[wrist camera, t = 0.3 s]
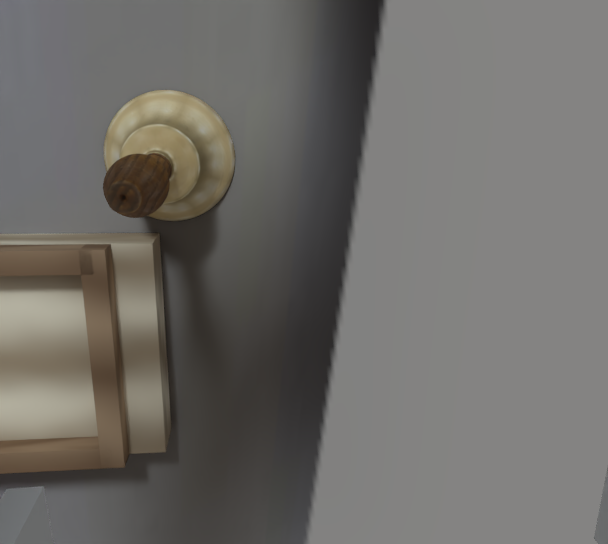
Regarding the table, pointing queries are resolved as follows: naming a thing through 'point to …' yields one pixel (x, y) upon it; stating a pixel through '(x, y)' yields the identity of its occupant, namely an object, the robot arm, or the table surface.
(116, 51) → the table surface
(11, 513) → the robot arm
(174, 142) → the hand bell
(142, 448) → the stand
